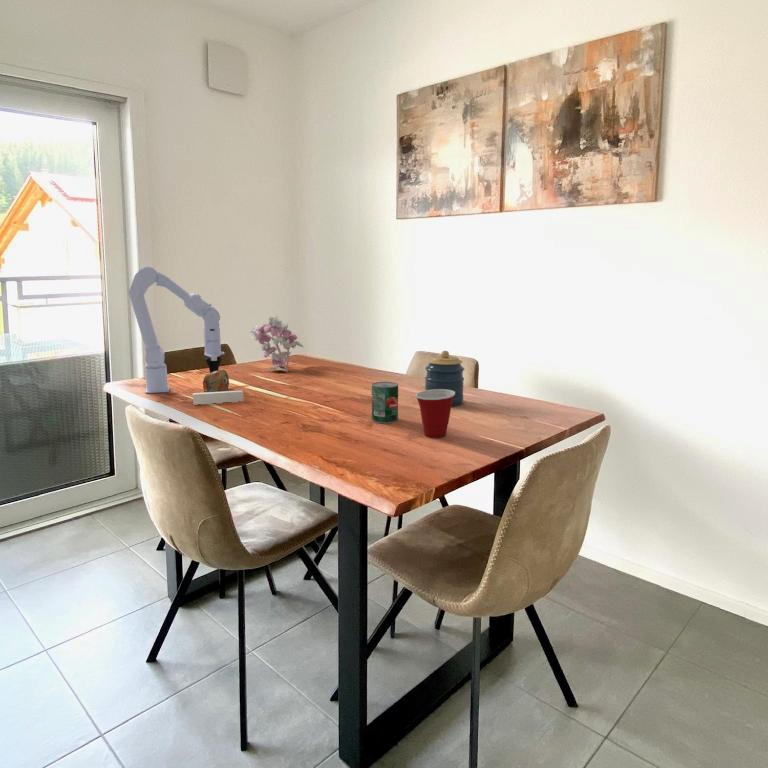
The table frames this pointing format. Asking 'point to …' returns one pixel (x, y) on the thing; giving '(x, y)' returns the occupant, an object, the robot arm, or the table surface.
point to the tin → (216, 381)
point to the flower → (275, 341)
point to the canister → (446, 375)
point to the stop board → (217, 397)
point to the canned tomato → (384, 402)
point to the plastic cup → (435, 411)
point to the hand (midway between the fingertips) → (214, 377)
